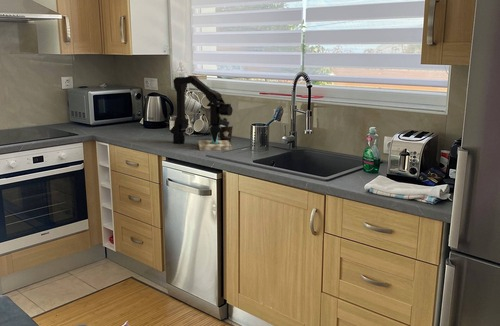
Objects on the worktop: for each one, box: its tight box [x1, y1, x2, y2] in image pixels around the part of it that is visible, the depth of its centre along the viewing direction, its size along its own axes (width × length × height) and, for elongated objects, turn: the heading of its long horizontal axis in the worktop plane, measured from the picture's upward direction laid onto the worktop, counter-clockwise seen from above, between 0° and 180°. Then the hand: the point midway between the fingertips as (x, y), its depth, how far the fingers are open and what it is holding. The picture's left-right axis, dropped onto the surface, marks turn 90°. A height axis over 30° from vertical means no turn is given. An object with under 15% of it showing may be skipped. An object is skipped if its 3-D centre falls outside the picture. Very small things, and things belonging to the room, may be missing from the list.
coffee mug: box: [218, 124, 234, 143], centre depth 313 cm, size 12×9×10 cm
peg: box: [209, 131, 220, 144], centre depth 293 cm, size 5×5×9 cm
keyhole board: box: [198, 139, 232, 151], centre depth 293 cm, size 18×18×2 cm
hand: (214, 140), depth 293 cm, fingers open, 5 cm apart
